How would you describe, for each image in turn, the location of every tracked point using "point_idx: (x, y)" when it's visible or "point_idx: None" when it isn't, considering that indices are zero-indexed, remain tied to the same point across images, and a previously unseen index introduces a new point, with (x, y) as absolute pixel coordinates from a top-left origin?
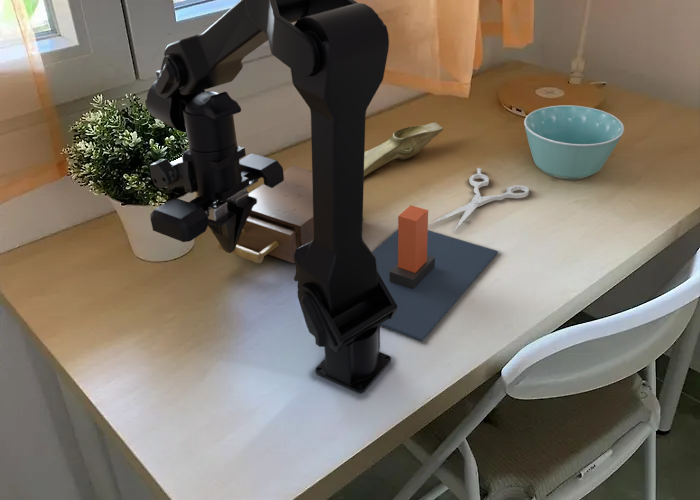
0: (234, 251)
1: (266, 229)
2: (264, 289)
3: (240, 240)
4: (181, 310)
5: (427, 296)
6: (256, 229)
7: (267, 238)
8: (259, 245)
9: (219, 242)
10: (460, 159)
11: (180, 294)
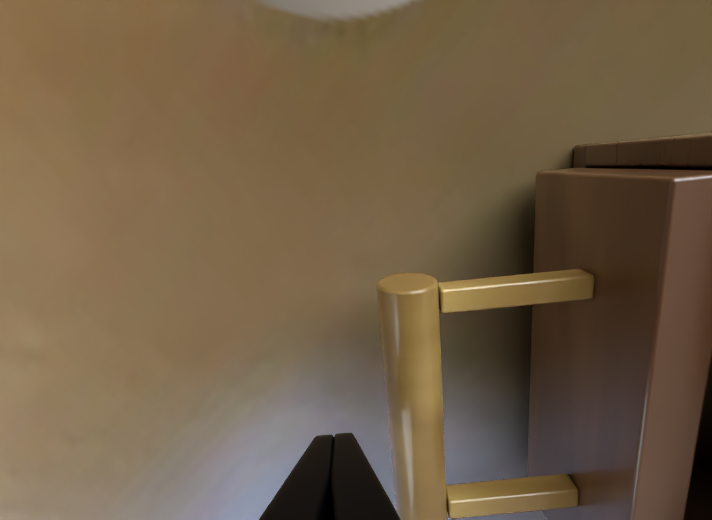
0: (387, 403)
1: (620, 488)
2: None
3: (547, 228)
4: (79, 343)
5: None
6: (609, 400)
7: (580, 440)
8: (547, 351)
9: (282, 489)
10: None
11: (131, 262)
